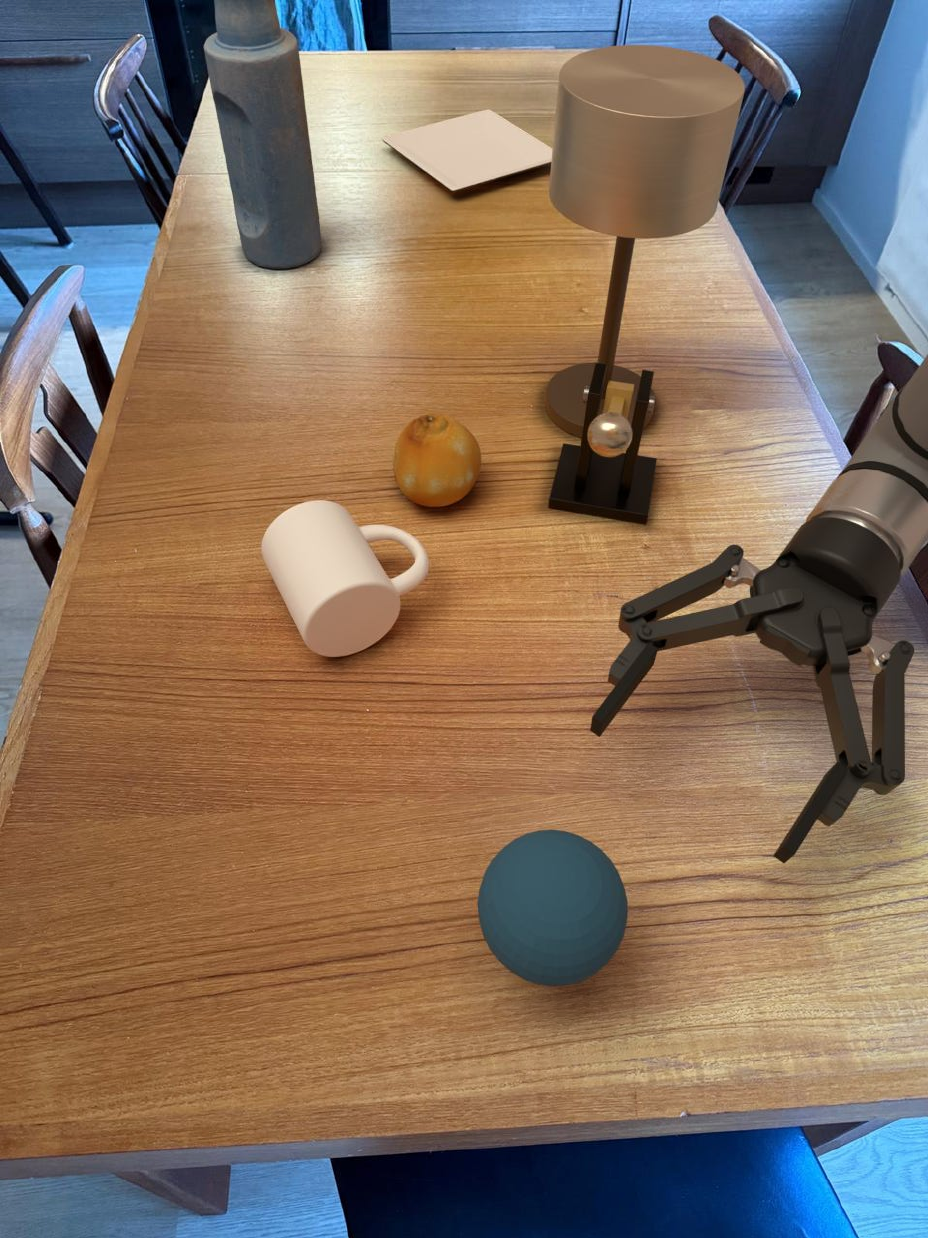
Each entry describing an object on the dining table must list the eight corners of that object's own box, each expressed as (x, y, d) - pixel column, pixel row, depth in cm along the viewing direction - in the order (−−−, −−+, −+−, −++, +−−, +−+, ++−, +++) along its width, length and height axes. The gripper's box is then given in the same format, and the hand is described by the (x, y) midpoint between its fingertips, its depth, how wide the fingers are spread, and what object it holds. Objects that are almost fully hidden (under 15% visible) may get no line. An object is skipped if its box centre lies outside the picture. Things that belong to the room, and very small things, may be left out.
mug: (310, 671, 70) (297, 605, 64) (268, 585, 75) (252, 517, 69) (448, 619, 73) (448, 551, 67) (398, 540, 79) (394, 471, 73)
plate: (452, 204, 118) (452, 188, 117) (381, 151, 128) (380, 135, 126) (564, 170, 125) (566, 155, 123) (488, 122, 135) (489, 107, 133)
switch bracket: (646, 524, 81) (671, 419, 72) (547, 507, 82) (560, 402, 73) (654, 467, 86) (679, 362, 77) (561, 452, 87) (575, 346, 78)
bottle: (338, 250, 110) (310, -43, 87) (274, 280, 106) (226, -21, 83) (289, 222, 114) (250, -65, 91) (226, 250, 110) (167, -45, 87)
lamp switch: (626, 465, 64) (635, 421, 62) (582, 458, 64) (589, 413, 63) (634, 417, 78) (641, 380, 76) (597, 411, 78) (604, 374, 77)
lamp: (661, 461, 86) (741, 126, 63) (518, 438, 88) (544, 104, 64) (673, 376, 95) (748, 54, 71) (543, 357, 97) (574, 36, 73)
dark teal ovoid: (454, 916, 58) (456, 832, 48) (572, 872, 60) (595, 784, 51) (505, 1046, 53) (517, 981, 44) (631, 994, 55) (668, 921, 46)
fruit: (369, 447, 83) (391, 410, 76) (447, 427, 86) (474, 390, 79) (400, 528, 83) (424, 499, 75) (477, 506, 86) (508, 475, 78)
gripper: (1001, 669, 62) (851, 924, 55) (688, 495, 70) (527, 699, 64) (1056, 621, 55) (894, 905, 49) (703, 435, 63) (524, 656, 57)
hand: (685, 789), depth 56 cm, fingers open, 13 cm apart
